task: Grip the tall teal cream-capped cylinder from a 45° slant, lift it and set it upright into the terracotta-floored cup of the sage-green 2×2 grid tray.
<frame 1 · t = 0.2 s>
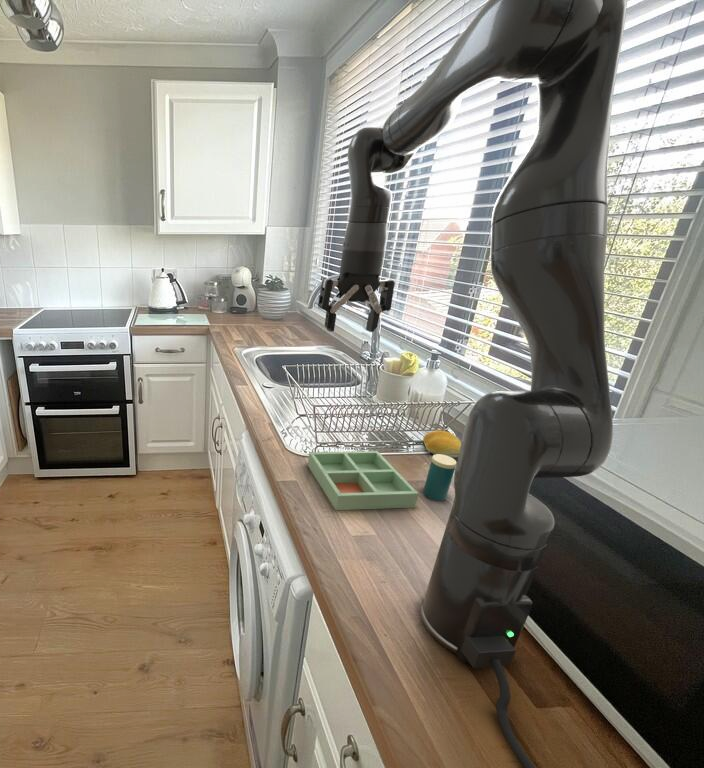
hand: (350, 330, 85), 29 cm above the counter, tool pointing down, fingers open, 8 cm apart
teal cream-capped cylinder: (434, 494, 81), on the counter
bread roll: (441, 450, 98), on the counter
grid: (357, 484, 84), on the counter
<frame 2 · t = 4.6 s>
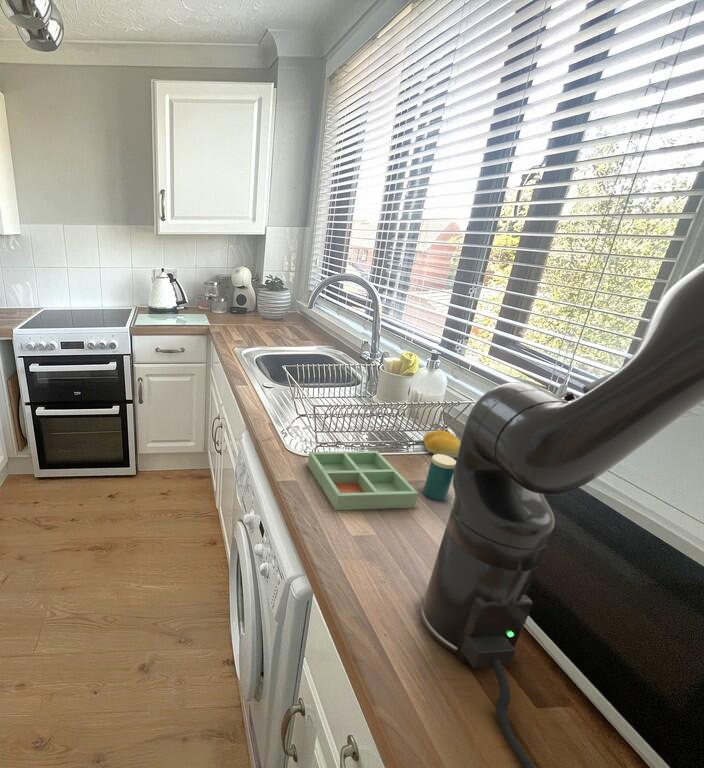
hand: (521, 440, 72), 15 cm above the counter, tool tilted 45°, fingers open, 8 cm apart
nothing on the counter moved.
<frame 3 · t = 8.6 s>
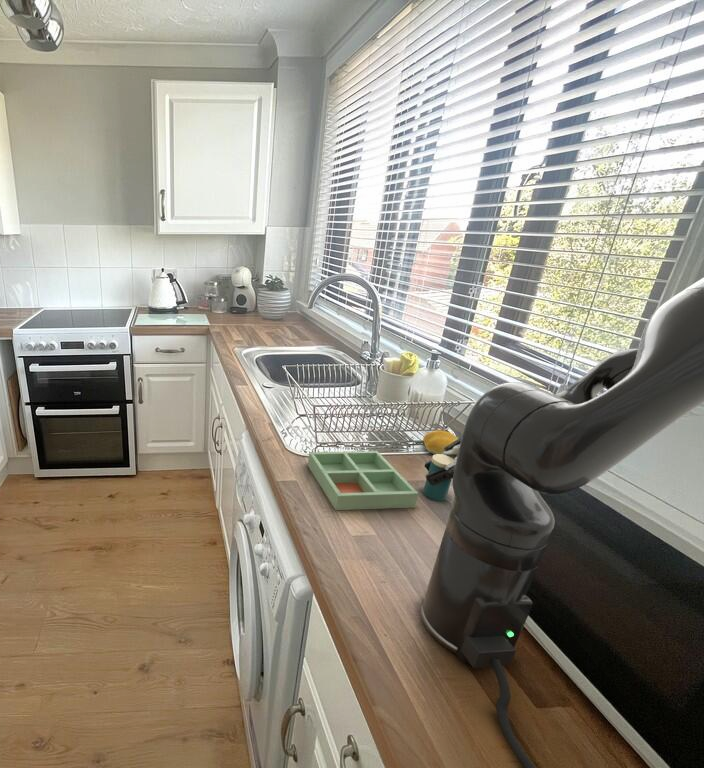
hand: (428, 474, 81), 4 cm above the counter, tool tilted 45°, fingers closed on teal cream-capped cylinder, 4 cm apart
teal cream-capped cylinder: (434, 494, 81), on the counter, touching gripper
everything else where it was.
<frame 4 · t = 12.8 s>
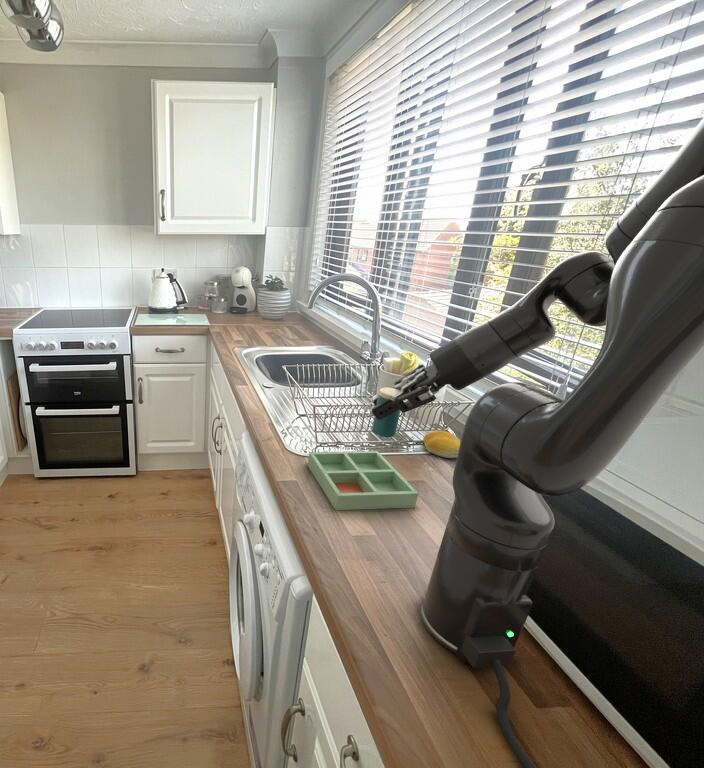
hand: (375, 409, 75), 18 cm above the counter, tool tilted 45°, fingers closed on teal cream-capped cylinder, 4 cm apart
teal cream-capped cylinder: (383, 432, 75), point 14 cm above the counter, touching gripper
everything else where it was.
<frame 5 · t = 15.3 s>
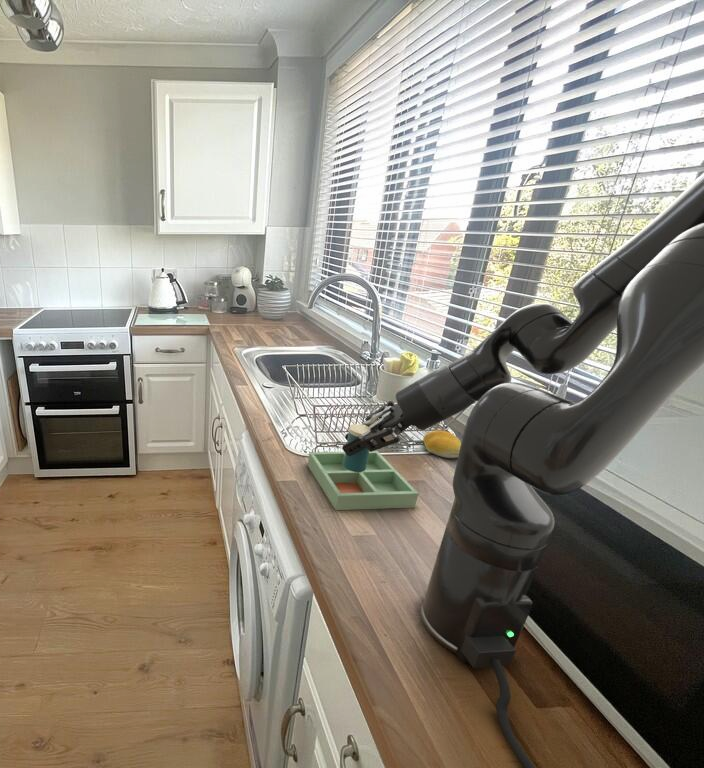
hand: (346, 445, 77), 11 cm above the counter, tool tilted 45°, fingers closed on teal cream-capped cylinder, 4 cm apart
teal cream-capped cylinder: (354, 466, 78), point 7 cm above the counter, touching gripper
everything else where it was.
when the fingers open (5 cm above the counter, at t = 17.3 s): teal cream-capped cylinder stays where it is, resting on grid.
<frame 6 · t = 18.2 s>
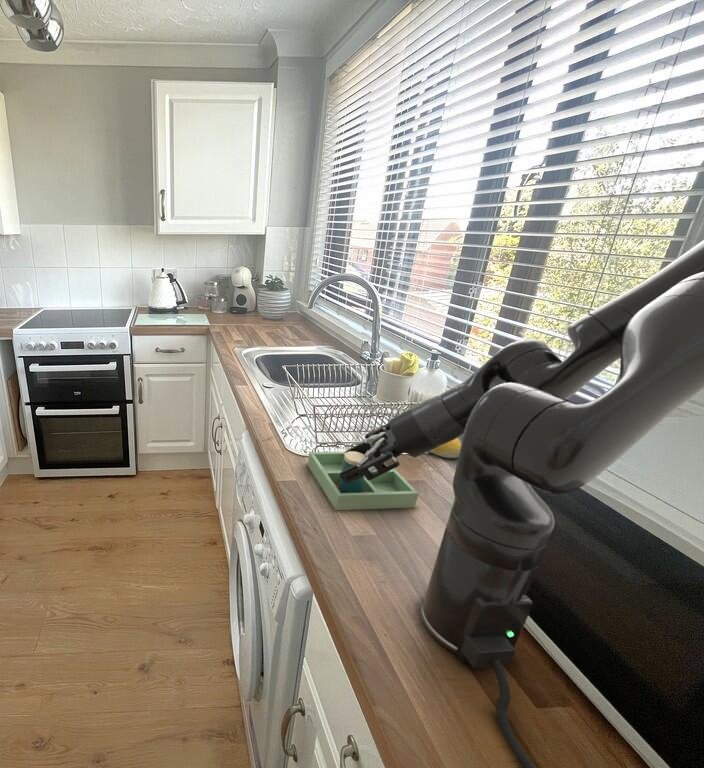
hand: (345, 466, 78), 6 cm above the counter, tool tilted 45°, fingers open, 8 cm apart
teal cream-capped cylinder: (349, 492, 80), point 1 cm above the counter, touching grid
everything else where it was.
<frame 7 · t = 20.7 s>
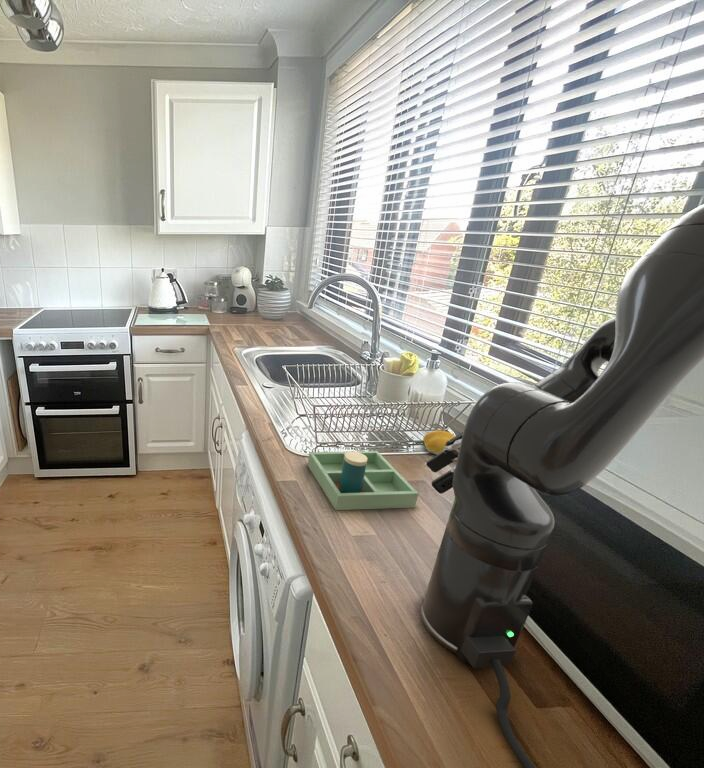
hand: (432, 477, 71), 9 cm above the counter, tool tilted 40°, fingers open, 8 cm apart
nothing on the counter moved.
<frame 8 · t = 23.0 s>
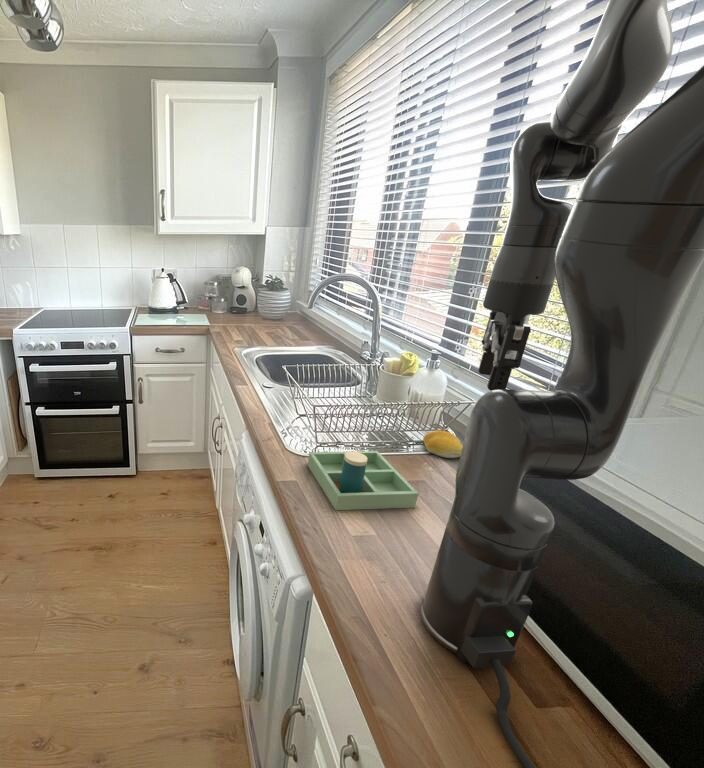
hand: (490, 381, 66), 26 cm above the counter, tool pointing down, fingers open, 8 cm apart
nothing on the counter moved.
at the end: teal cream-capped cylinder 0.3 cm from the target spot in the grid, point 0.8 cm above the grid's base; teal cream-capped cylinder tilted 0°; the gripper is holding nothing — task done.
